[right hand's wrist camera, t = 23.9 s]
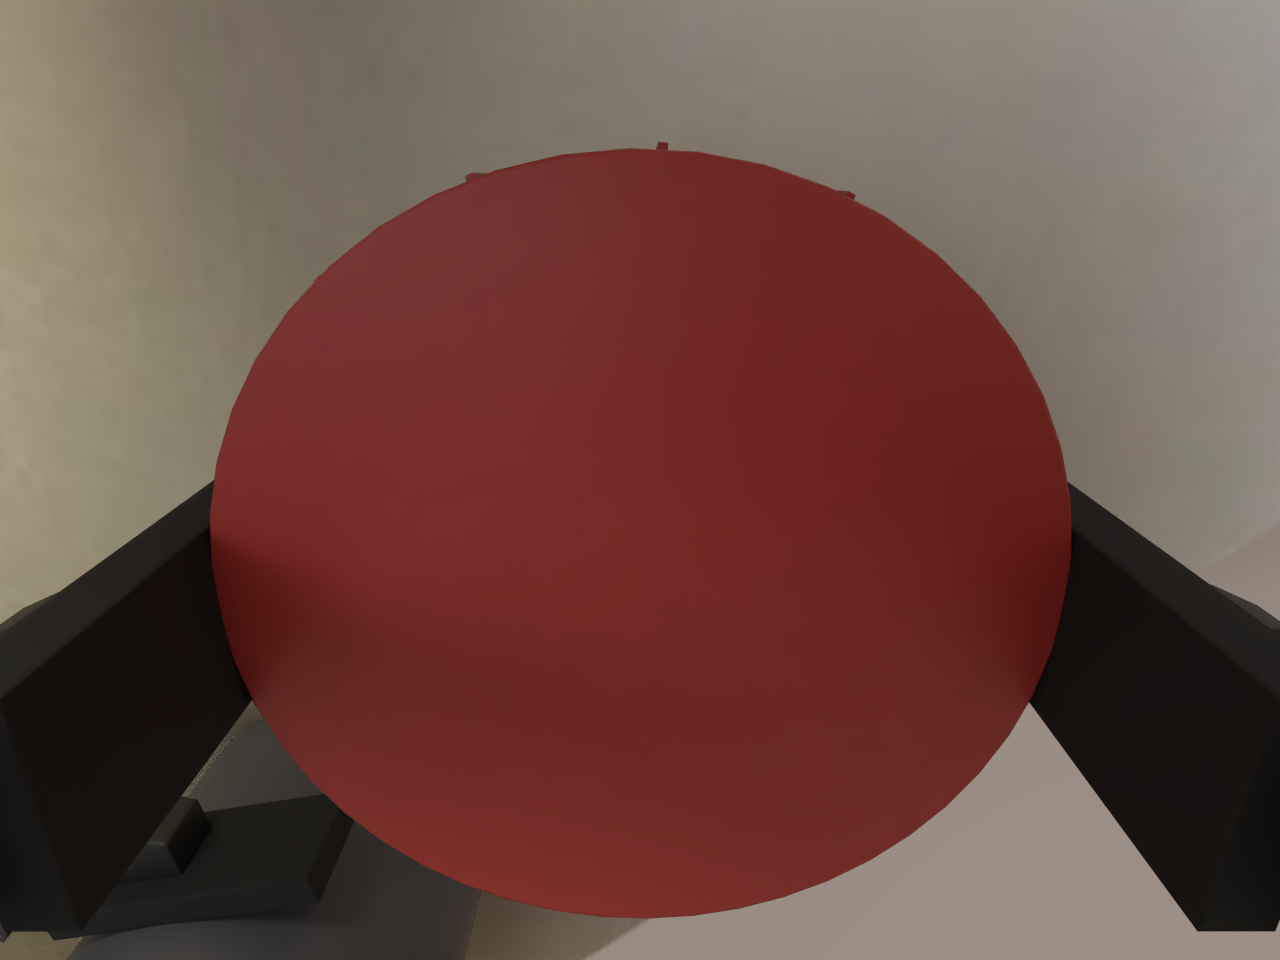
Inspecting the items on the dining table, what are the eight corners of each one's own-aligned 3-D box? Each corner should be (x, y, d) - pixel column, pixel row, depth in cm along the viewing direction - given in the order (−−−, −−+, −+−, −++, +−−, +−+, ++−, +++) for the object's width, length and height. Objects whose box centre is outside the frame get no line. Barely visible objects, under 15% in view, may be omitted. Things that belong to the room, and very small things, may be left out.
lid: (1015, 86, 10) (1098, 66, 8) (1003, 788, 13) (1056, 878, 12) (162, 226, 10) (63, 237, 8) (385, 857, 14) (348, 953, 12)
